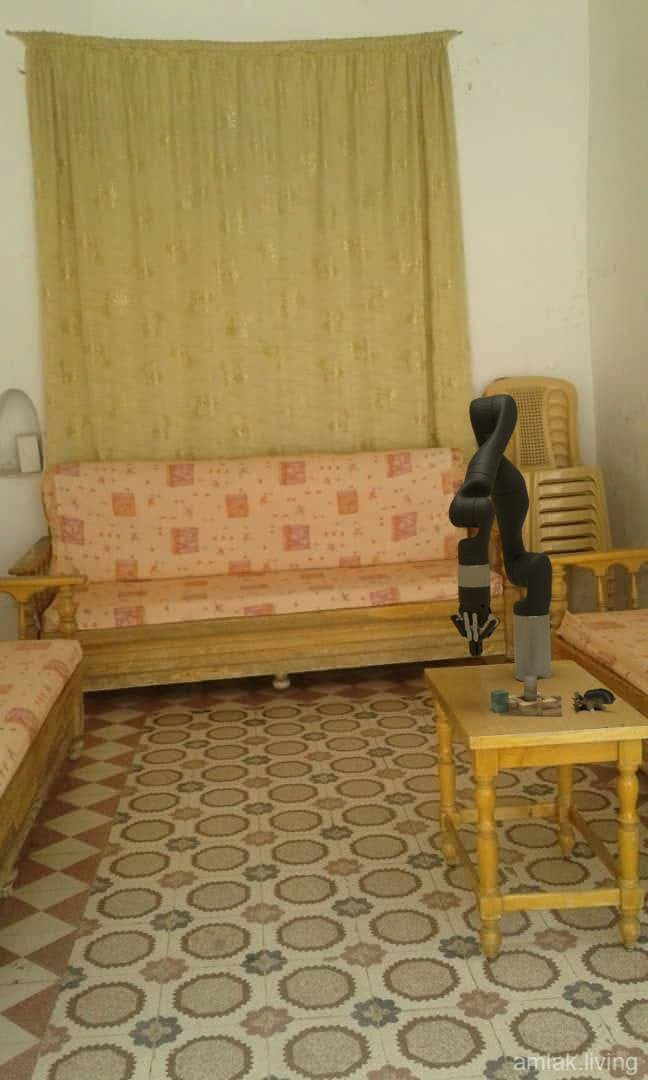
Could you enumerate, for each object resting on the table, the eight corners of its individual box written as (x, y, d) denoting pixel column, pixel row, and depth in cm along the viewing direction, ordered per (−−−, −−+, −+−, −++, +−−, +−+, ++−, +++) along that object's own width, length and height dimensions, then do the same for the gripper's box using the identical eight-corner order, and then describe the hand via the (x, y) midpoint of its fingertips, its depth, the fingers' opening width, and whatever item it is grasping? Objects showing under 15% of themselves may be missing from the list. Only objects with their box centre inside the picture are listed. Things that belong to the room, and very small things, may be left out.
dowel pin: (537, 714, 239) (536, 697, 238) (542, 714, 239) (541, 697, 238) (536, 716, 238) (536, 698, 237) (542, 716, 237) (541, 699, 237)
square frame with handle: (538, 698, 252) (537, 680, 251) (557, 707, 243) (557, 689, 243) (485, 706, 248) (484, 688, 247) (503, 716, 239) (502, 697, 238)
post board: (502, 700, 256) (501, 667, 255) (561, 700, 253) (560, 667, 252) (499, 721, 240) (498, 686, 239) (562, 721, 237) (561, 686, 236)
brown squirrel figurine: (579, 716, 236) (619, 707, 235) (570, 687, 239) (609, 678, 239) (577, 726, 243) (615, 717, 242) (568, 697, 246) (606, 688, 245)
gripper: (441, 583, 246) (443, 655, 248) (489, 587, 237) (491, 662, 239) (459, 578, 251) (462, 649, 254) (507, 582, 243) (509, 656, 245)
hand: (476, 656), depth 246 cm, fingers closed
